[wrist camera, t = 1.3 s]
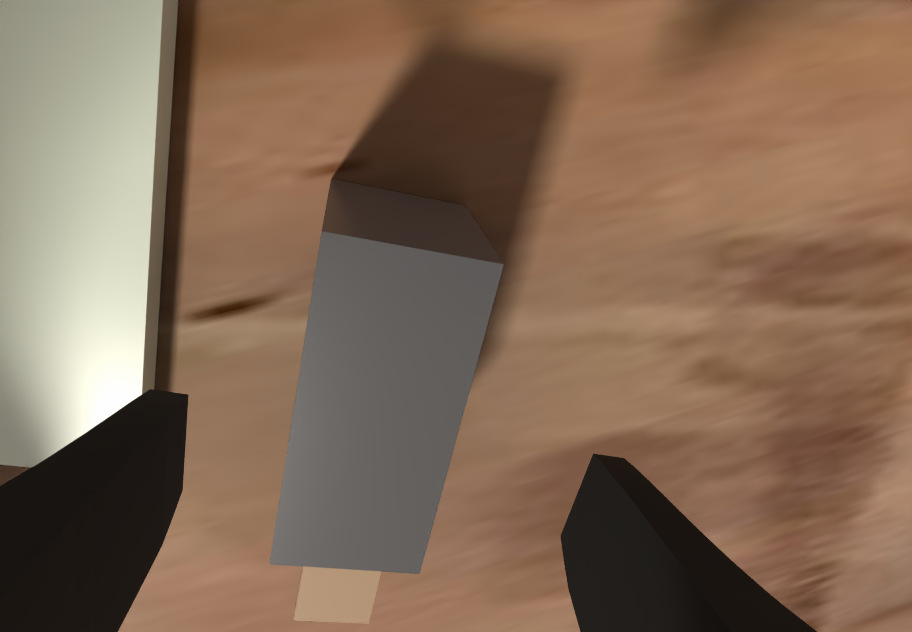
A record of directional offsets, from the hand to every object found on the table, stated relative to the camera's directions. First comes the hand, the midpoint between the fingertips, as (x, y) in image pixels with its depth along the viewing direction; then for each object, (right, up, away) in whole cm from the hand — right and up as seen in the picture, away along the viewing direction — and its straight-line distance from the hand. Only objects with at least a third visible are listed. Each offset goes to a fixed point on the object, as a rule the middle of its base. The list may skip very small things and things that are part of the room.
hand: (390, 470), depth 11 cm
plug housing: (-2, +1, +11) cm, 12 cm away
